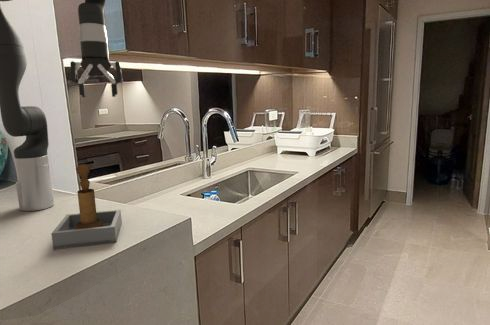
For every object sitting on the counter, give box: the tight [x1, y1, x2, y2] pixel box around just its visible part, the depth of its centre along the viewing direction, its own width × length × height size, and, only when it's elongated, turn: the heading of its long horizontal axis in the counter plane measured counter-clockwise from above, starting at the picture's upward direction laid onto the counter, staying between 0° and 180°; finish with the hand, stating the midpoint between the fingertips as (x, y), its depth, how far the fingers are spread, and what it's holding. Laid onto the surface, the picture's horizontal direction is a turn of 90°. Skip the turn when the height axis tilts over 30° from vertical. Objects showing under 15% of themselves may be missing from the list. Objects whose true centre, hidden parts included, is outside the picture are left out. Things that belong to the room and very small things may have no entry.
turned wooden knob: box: [76, 163, 103, 229], centre depth 88 cm, size 7×6×18 cm
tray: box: [51, 209, 123, 250], centre depth 89 cm, size 14×14×4 cm
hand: (99, 97), depth 105 cm, fingers open, 8 cm apart
